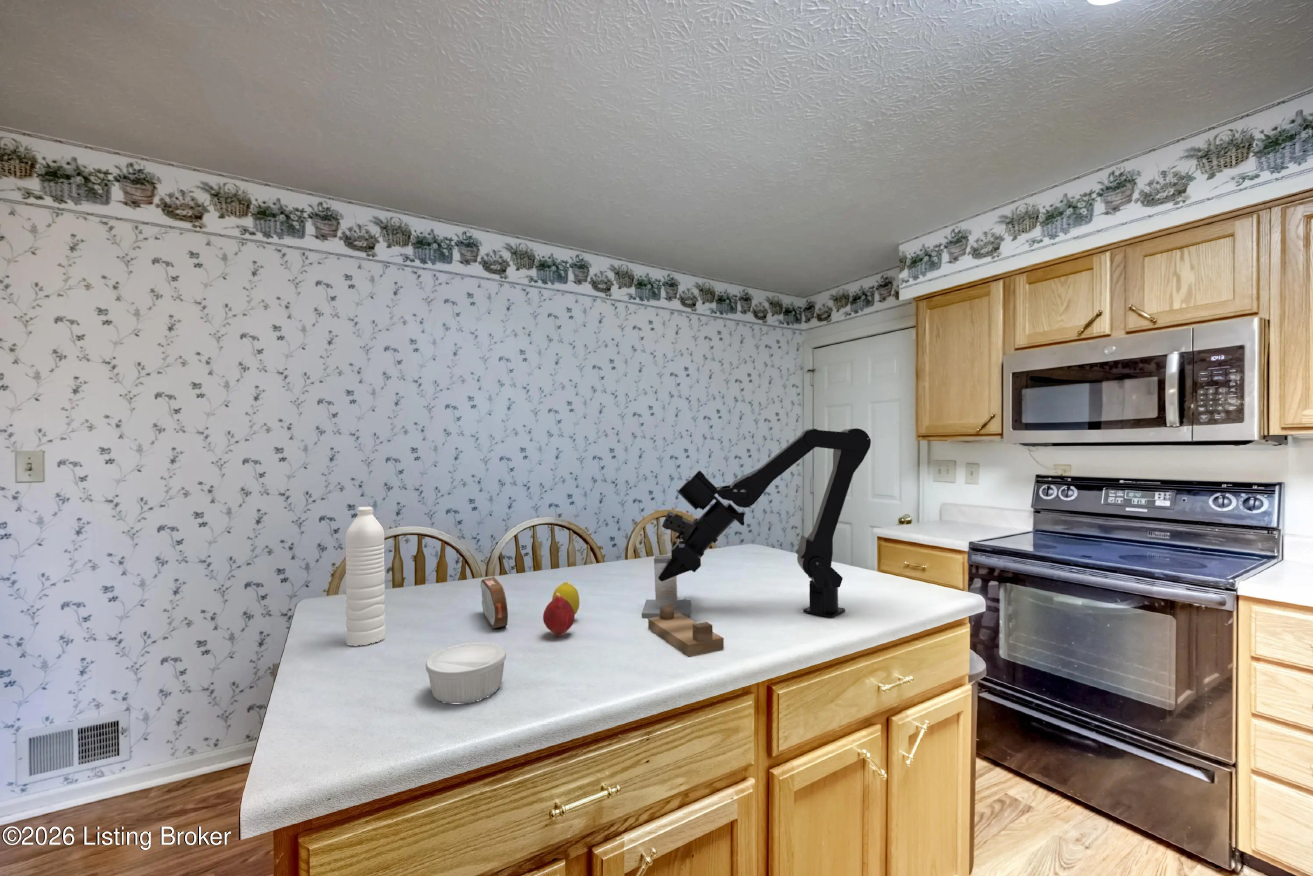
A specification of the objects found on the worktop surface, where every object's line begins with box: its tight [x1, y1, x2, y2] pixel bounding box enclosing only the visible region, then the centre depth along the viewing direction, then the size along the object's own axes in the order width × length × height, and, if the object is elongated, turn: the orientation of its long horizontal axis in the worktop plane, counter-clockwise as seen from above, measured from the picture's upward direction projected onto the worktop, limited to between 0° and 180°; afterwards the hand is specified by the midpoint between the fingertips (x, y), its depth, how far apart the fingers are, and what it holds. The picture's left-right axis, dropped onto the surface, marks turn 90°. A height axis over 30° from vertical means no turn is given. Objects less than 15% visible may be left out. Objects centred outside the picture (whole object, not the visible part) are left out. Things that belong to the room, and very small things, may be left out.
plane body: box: [647, 605, 725, 657], centre depth 102 cm, size 16×7×4 cm, turn 26°
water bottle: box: [344, 506, 386, 646], centre depth 103 cm, size 9×6×25 cm
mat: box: [641, 599, 692, 619], centre depth 119 cm, size 10×10×1 cm
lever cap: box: [653, 554, 679, 608], centre depth 119 cm, size 4×3×10 cm
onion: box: [542, 593, 576, 637], centre depth 105 cm, size 6×6×8 cm
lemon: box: [551, 581, 580, 615], centre depth 113 cm, size 6×6×8 cm
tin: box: [480, 576, 509, 629], centre depth 114 cm, size 15×3×8 cm, turn 27°
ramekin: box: [425, 641, 507, 704], centre depth 82 cm, size 11×11×5 cm
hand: (660, 577), depth 119 cm, fingers open, 4 cm apart
